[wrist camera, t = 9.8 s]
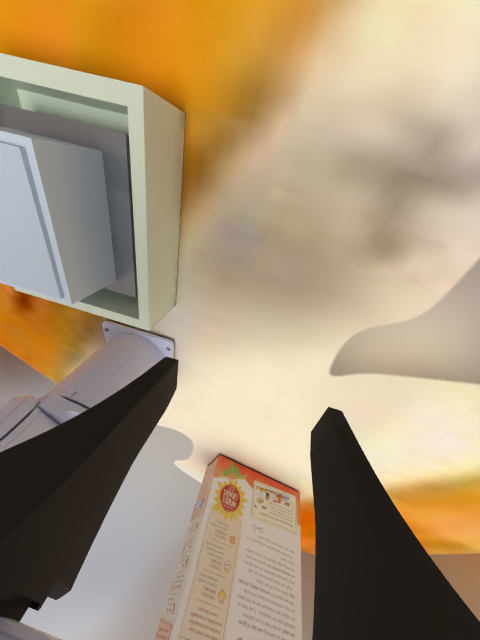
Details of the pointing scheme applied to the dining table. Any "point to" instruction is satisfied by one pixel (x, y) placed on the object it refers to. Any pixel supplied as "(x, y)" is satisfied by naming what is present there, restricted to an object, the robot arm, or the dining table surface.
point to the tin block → (115, 178)
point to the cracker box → (238, 561)
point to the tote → (146, 171)
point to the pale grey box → (53, 217)
